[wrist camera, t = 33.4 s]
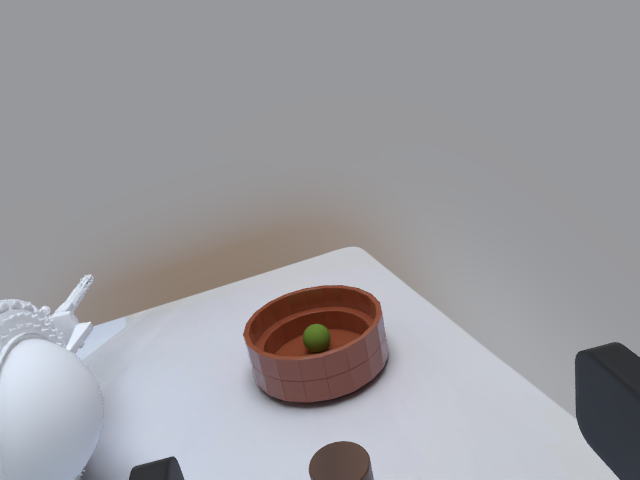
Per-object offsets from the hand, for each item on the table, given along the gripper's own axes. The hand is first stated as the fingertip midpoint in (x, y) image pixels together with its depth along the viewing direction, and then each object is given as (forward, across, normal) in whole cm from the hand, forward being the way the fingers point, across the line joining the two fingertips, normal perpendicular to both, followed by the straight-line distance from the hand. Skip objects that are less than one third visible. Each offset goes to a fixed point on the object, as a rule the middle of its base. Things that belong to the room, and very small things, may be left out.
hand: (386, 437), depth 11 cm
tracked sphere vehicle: (+40, +25, +28) cm, 55 cm away
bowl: (+45, -1, +28) cm, 53 cm away
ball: (+46, -1, +26) cm, 53 cm away
